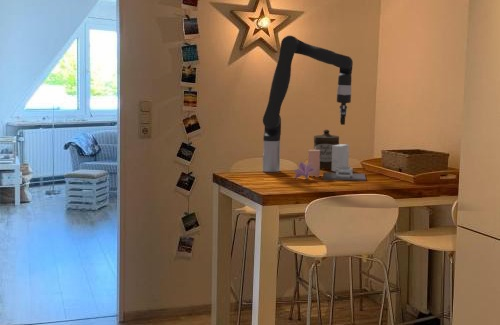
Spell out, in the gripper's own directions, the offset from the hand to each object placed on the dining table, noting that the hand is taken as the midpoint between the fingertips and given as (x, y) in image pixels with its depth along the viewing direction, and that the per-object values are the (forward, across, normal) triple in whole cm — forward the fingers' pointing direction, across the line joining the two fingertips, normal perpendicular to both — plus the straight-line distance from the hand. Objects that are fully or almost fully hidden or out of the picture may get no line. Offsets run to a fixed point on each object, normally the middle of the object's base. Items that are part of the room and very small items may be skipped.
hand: (342, 123), depth 333 cm
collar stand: (+27, +12, +2) cm, 30 cm away
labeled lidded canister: (+28, -22, -8) cm, 36 cm away
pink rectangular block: (+28, +10, -14) cm, 32 cm away
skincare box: (+28, -9, 0) cm, 29 cm away
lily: (+28, +21, -19) cm, 40 cm away
